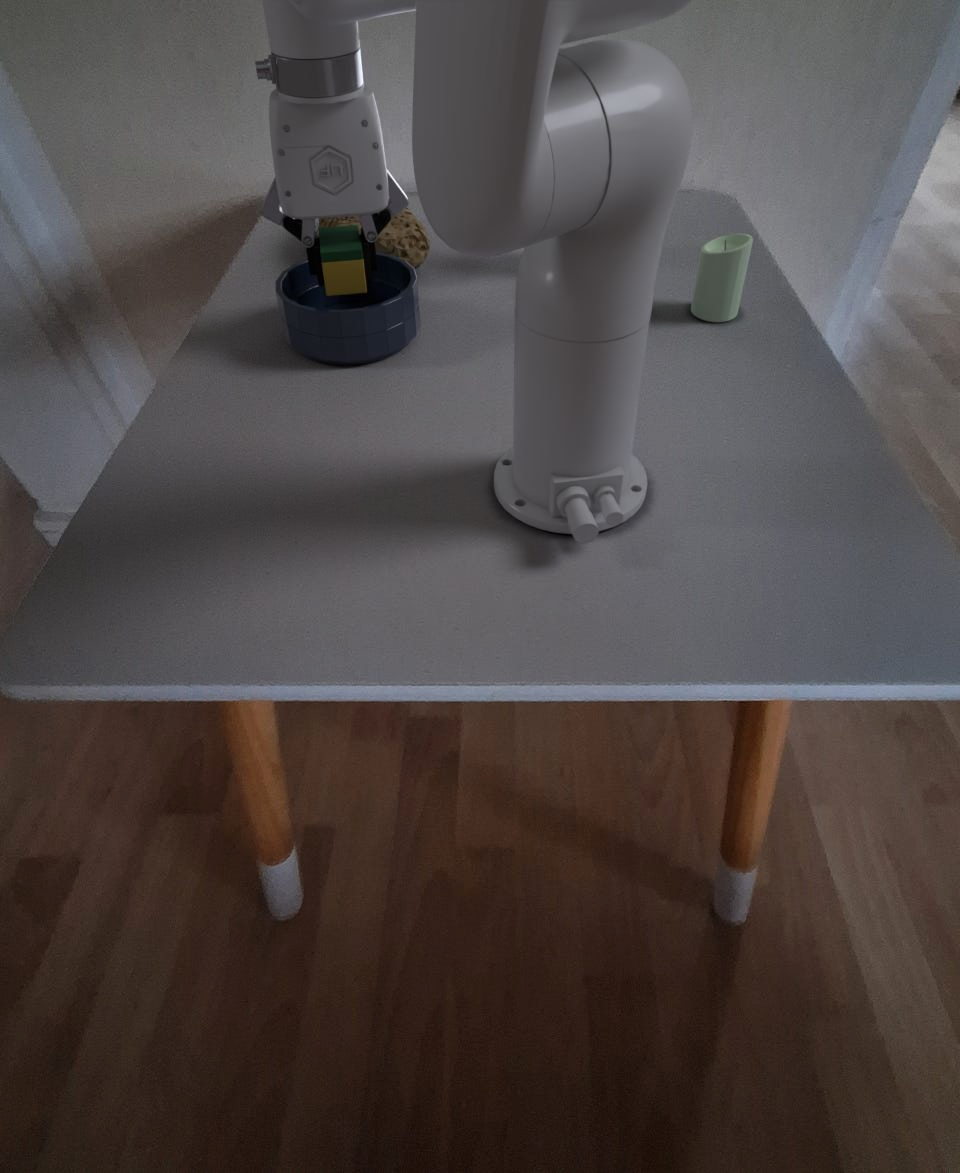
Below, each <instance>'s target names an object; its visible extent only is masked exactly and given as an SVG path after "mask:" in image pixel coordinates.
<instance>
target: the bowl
mask: <svg viewBox="0 0 960 1173" xmlns="http://www.w3.org/2000/svg"><path fill="white" fill-rule="evenodd" d="M376 259H377V270H371V276H372V282H368V283H367V281H366V288H367V293H357V294H346V295H334V296H327V295H326V289H325V285H324V286H321V287H319V285H318V278H317V275H310V271H309V265H308V259H307V258H305V259H303V260H300V261H297V262H295V263H293V264H292V265H290V266H289V267H287V268H286V269H284V270H283V271H282V272H281V273H280V275H279V276H278V277H277V279H276V280H275V296H276V301H277V306H278V311H279V316H280V320H281V327H282V331H283V336H284V339H285V341H286V342H287V343H288V345H289V346H290V347H291V349H293V350H294V351H297V352H298V353H299V354H300V355H302V356H303V357H305V358H307V359H309V360H310V361H311V360H312V361H315V362H317V363H321V364H326V365H327V364H328V365H335V366H336V365H337V366H354V365H364V364H369V363H374V362H377V361H381V360H384V359H387V358H389V357H392V356H394V355H396V354H398V353H399V352H402V351H403V350H404V349H405V348H406V347H407V346H408V345H409V344H410V342H411V341H412V340H414V338H416V337H417V335H418V332H419V330H420V328H421V314H420V313H421V310H420V299H419V298H420V297H419V284H418V276H417V272H416V268H415V269H414V268H413V267H412V266H411V265H410V264H408V263H407V262H406V261H405V260H402V259H400V258H398V257H395V256H393V255H390V254H385V253H380V252H376Z"/></svg>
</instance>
